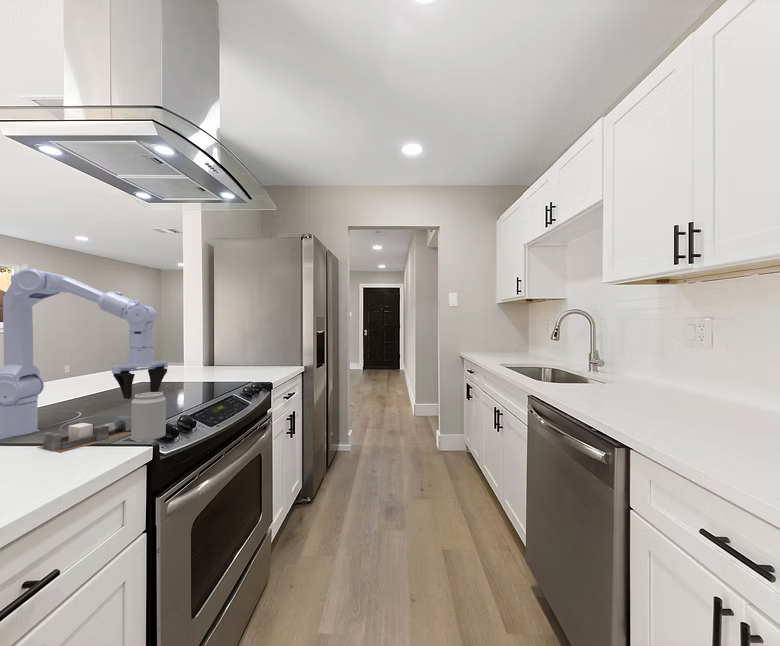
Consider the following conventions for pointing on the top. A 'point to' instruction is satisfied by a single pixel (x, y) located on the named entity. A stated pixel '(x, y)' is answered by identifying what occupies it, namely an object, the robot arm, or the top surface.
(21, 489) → the top surface
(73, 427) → the spacer
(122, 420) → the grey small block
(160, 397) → the can
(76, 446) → the bearing bench
